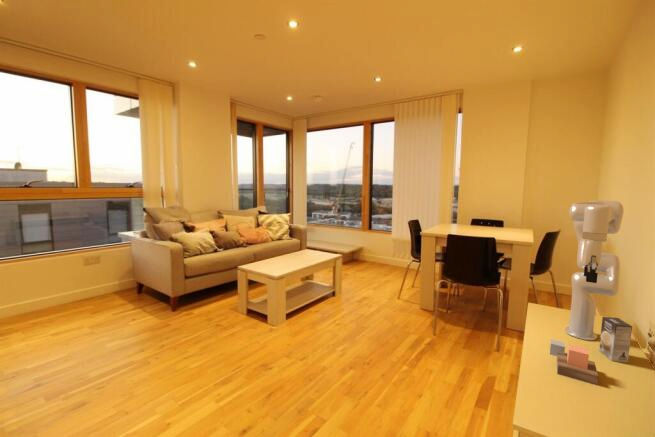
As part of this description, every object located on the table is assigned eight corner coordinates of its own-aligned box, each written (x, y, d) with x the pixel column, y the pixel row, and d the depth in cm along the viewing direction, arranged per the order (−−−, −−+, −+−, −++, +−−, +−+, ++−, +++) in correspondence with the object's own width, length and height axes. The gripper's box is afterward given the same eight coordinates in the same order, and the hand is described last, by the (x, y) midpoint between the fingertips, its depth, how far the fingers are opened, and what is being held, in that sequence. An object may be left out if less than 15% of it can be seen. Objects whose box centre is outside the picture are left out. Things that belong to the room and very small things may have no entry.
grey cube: (549, 349, 143) (550, 339, 143) (563, 353, 140) (564, 342, 140) (549, 354, 139) (550, 343, 139) (563, 358, 136) (565, 347, 136)
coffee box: (597, 350, 143) (601, 316, 142) (614, 352, 142) (618, 317, 141) (611, 361, 134) (615, 324, 133) (629, 363, 133) (633, 326, 132)
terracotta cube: (567, 357, 130) (568, 343, 129) (585, 362, 126) (587, 348, 126) (567, 364, 125) (569, 349, 124) (587, 369, 121) (588, 354, 121)
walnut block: (556, 361, 134) (557, 352, 134) (593, 371, 127) (594, 362, 127) (557, 375, 124) (558, 365, 124) (597, 386, 118) (598, 376, 117)
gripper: (580, 233, 134) (576, 273, 136) (583, 238, 120) (579, 282, 122) (603, 235, 130) (599, 276, 132) (610, 240, 116) (605, 286, 118)
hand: (589, 279), depth 127 cm, fingers open, 9 cm apart
